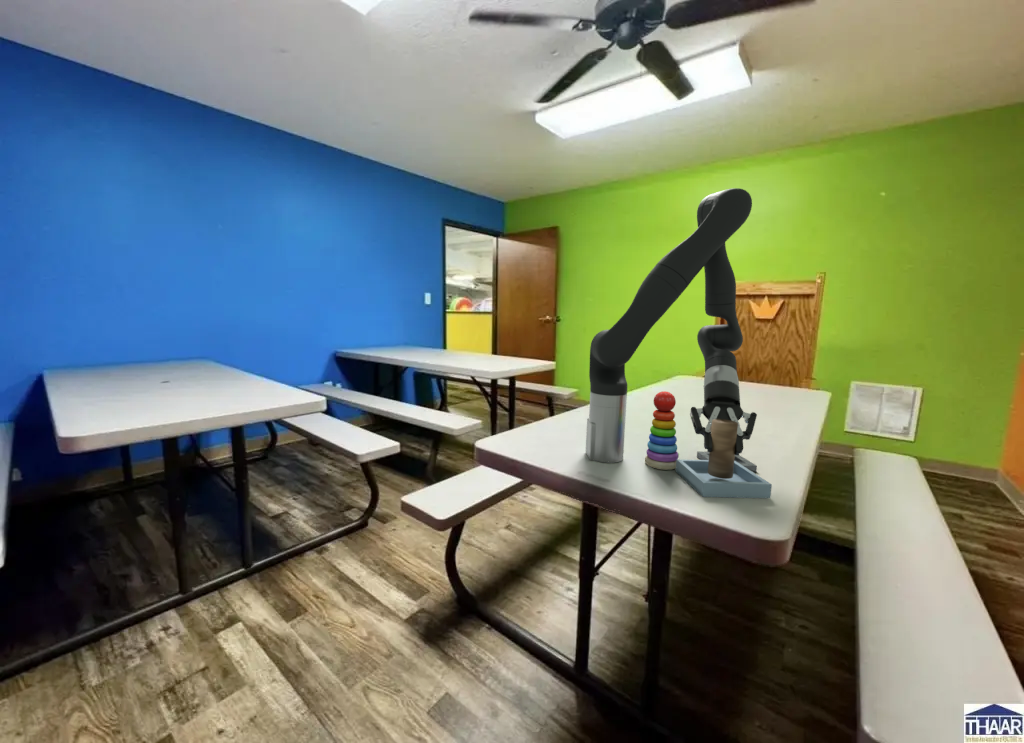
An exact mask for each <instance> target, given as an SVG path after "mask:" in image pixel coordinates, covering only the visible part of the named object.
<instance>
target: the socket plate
mask: <svg viewBox="0 0 1024 743" xmlns="http://www.w3.org/2000/svg"><path fill="white" fill-rule="evenodd" d="M696 458H697V459H698V460H709V452H707V451H697V452H696ZM734 461H736V462H738V463H739V464H741V465H742V466H744V467H746V468H747V469H749V470H750V471H752V472H753V473H755V472H757V470H758V466H757V465H756V464H755V463H753V462H751V461H750V460H748V459H746V458H744V457H743V456H742V455H740V454H739V456H738V455H735V459H734Z"/></svg>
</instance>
